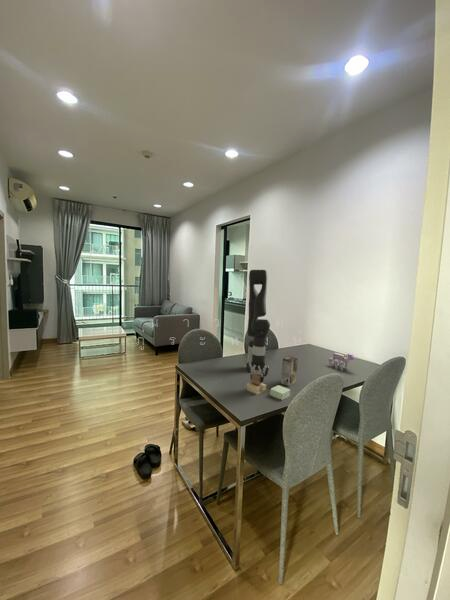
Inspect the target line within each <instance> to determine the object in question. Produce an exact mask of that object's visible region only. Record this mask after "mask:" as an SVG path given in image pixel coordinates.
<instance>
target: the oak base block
mask: <svg viewBox="0 0 450 600" xmlns="http://www.w3.org/2000/svg"><path fill="white" fill-rule="evenodd" d="M246 391H248V392H251V393H253V394H255V395H259V394H262V393H264V392H266V391H267V384H264V383H263V382H262V383H261V384H260V385H258V384H254V383H251V382H247V383H246Z"/></svg>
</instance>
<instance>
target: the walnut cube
mask: <svg viewBox="0 0 450 600" xmlns="http://www.w3.org/2000/svg"><path fill="white" fill-rule="evenodd" d="M250 380H251V379H250ZM260 381H261V374H260V372H254V373H253V374H252V380H251V383H254V384H258V385H260V384H261V383H260Z"/></svg>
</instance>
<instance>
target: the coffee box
mask: <svg viewBox="0 0 450 600" xmlns="http://www.w3.org/2000/svg"><path fill="white" fill-rule="evenodd" d="M281 365H282V367H281V378H280V380H281V381H280V384H282V385H284V386H285V385H286V386H288V387H291V386H292V385H293V384H295V383H296V382H297V381H296V380H297V371H298V370H297V369H298V357H294V356H291V355H287V356H286V357H284V358H282V364H281Z"/></svg>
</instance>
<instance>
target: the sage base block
mask: <svg viewBox="0 0 450 600" xmlns="http://www.w3.org/2000/svg"><path fill="white" fill-rule="evenodd" d="M269 392H270V393H269V395H270V396H271V397H274V398H275V399H278V400H280V399H281V401H284V400H285V398H286V399H288V398H289V397H291V389H289V388H287V387H284V386H282V385H279V384H278V385H276V386H274V387H271V388H270V391H269ZM283 399H284V400H283Z"/></svg>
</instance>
